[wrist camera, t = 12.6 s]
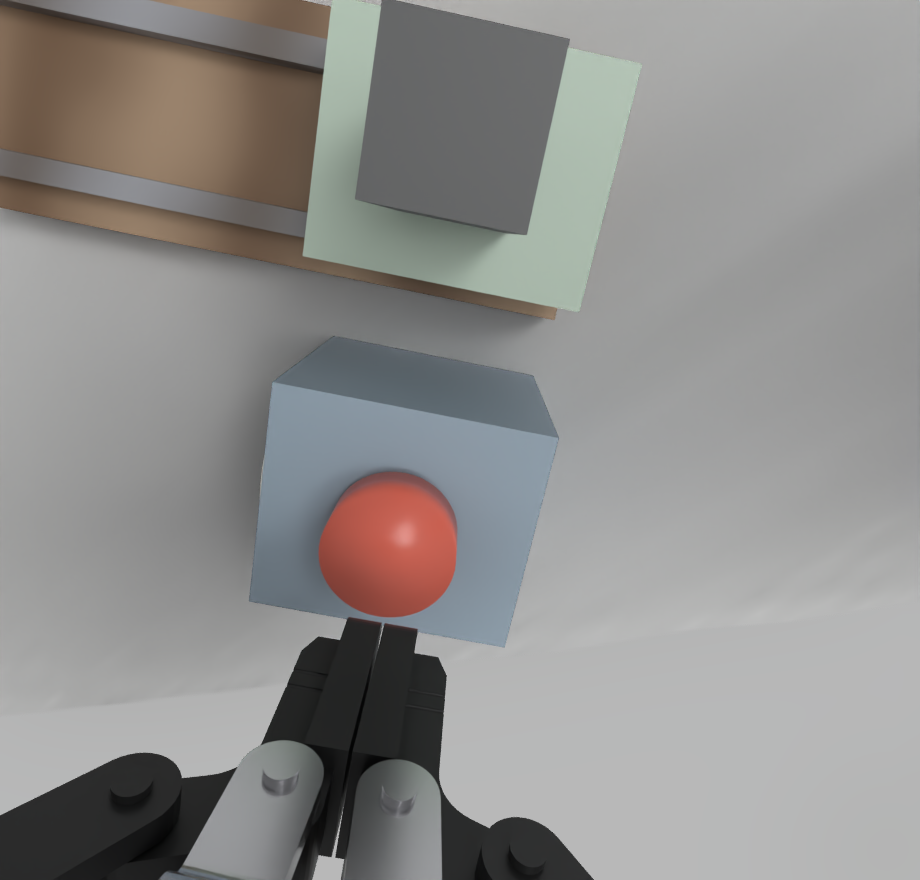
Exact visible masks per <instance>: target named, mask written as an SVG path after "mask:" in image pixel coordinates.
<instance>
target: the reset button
mask: <svg viewBox="0 0 920 880" xmlns="http://www.w3.org/2000/svg"><path fill="white" fill-rule="evenodd" d="M456 553H457V521H456V517H455V514H454V511H453V509H452V507H451V505H450V503H449V502H448V500H447V499H446V497H445V496H444V495H443V494H442V493H441V492H440V491H439V490H438V489H437V488H436V487H435V486H433V485H432V484H431V483H429V482H428V481H426V480H424V479H422V478H420V477H417V476H415V475H411V474H407V473H402V472H382V473H377V474H373V475H370V476H367V477H364V478H362V479H361V480H359V481H357V482H356V483H354V484H353V485H352V486H350V487H349V488H348V489H347V490H346V491H345V492H344V493H343V495H342V496H341V497H340V499H339V501H338V503H337V504H336V506H335V508H334V510H333V512H332V514H331V516H330V518H329V520H328V522H327V524H326V526H325V528H324V530H323V533H322V535H321V539H320V543H319V553H318V554H319V563H320V568H321V571H322V574H323V576H324V578H325V580H326V582H327V584H328V585H329V587H330V588H331V590H332V591H333V592H334V593H335V594H336V595H337V596H338V597H339V598H340V599H341V600H342V601H344V602H345V603H346V604H348V605H349V606H351V607H352V608H354V609H356V610H358V611H361V612H363V613H366V614H369V615H373V616H378V617H403V616H407V615H412V614H414V613H417V612H420V611H422V610H424V609H426V608H428V607H429V606H431V605H432V604H433V603H435V602H436V601H437V600H438V599H439V598H440V597H441V596H442V595H443V594H444V593H445V591H446V590H447V588H448V587H449V585H450V583H451V581H452V578H453V575H454V572H455V566H456Z"/></svg>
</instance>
